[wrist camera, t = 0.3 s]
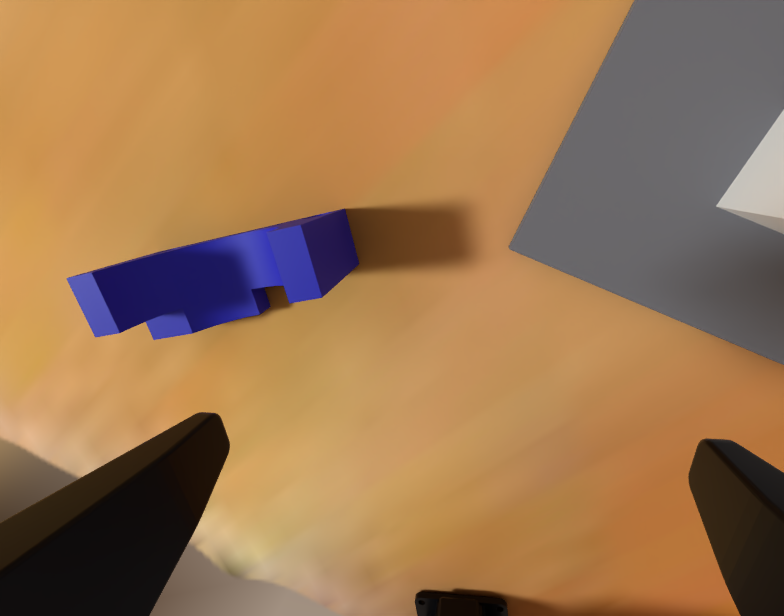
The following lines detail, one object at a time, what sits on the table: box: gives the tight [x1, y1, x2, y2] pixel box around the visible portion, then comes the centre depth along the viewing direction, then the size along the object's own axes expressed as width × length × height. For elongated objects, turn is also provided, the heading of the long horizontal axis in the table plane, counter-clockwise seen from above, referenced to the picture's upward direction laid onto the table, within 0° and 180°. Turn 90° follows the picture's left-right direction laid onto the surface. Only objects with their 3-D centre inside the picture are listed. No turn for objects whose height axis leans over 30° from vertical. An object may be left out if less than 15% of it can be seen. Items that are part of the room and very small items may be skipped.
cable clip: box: [66, 209, 359, 340], centre depth 20 cm, size 12×4×6 cm, turn 103°
